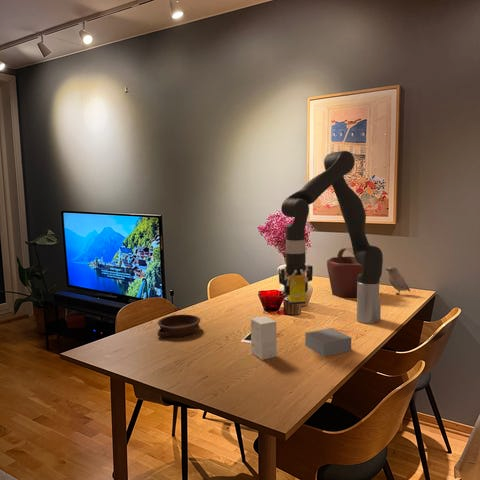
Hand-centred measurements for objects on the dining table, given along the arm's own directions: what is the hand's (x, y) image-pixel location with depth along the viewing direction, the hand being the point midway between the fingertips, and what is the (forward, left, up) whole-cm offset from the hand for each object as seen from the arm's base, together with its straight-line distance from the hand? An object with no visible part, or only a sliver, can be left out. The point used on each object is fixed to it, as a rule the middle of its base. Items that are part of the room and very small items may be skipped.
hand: (296, 293), depth 176 cm
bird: (-82, -33, -19) cm, 90 cm away
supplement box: (0, 0, -4) cm, 4 cm away
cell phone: (+12, -10, -19) cm, 25 cm away
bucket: (-59, -45, -19) cm, 77 cm away
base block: (-6, +13, -19) cm, 23 cm away
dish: (+38, -30, -19) cm, 52 cm away
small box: (+18, +8, -19) cm, 27 cm away
